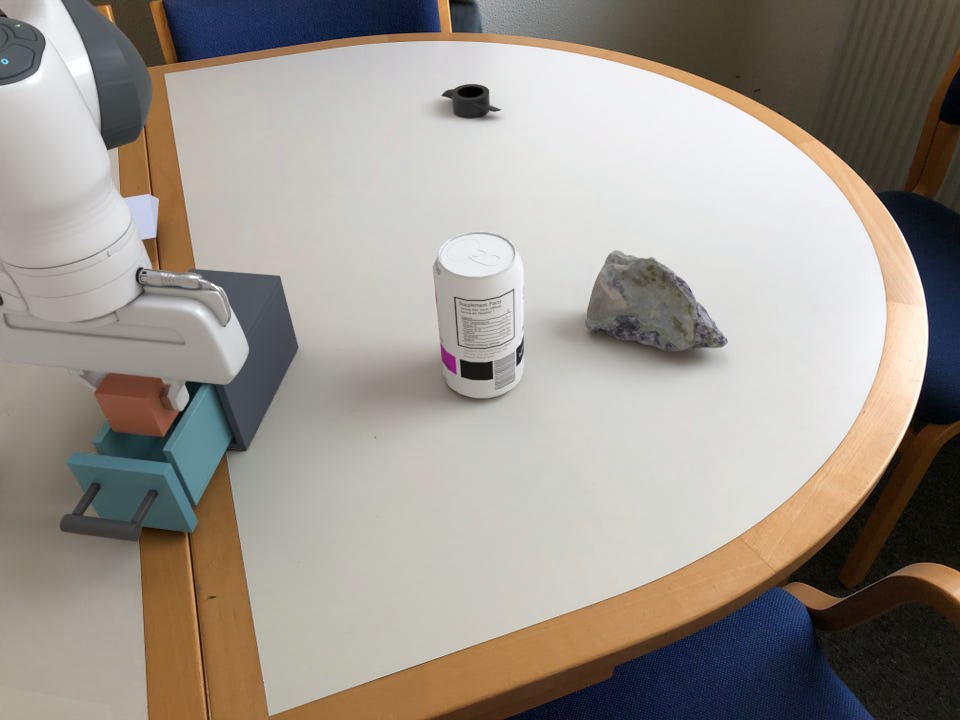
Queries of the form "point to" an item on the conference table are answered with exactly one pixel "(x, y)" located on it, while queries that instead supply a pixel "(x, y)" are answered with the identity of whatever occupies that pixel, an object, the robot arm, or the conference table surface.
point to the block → (134, 404)
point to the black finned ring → (470, 100)
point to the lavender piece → (144, 214)
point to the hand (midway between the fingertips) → (144, 401)
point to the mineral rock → (649, 306)
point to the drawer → (151, 472)
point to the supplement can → (480, 313)
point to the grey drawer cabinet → (255, 348)
